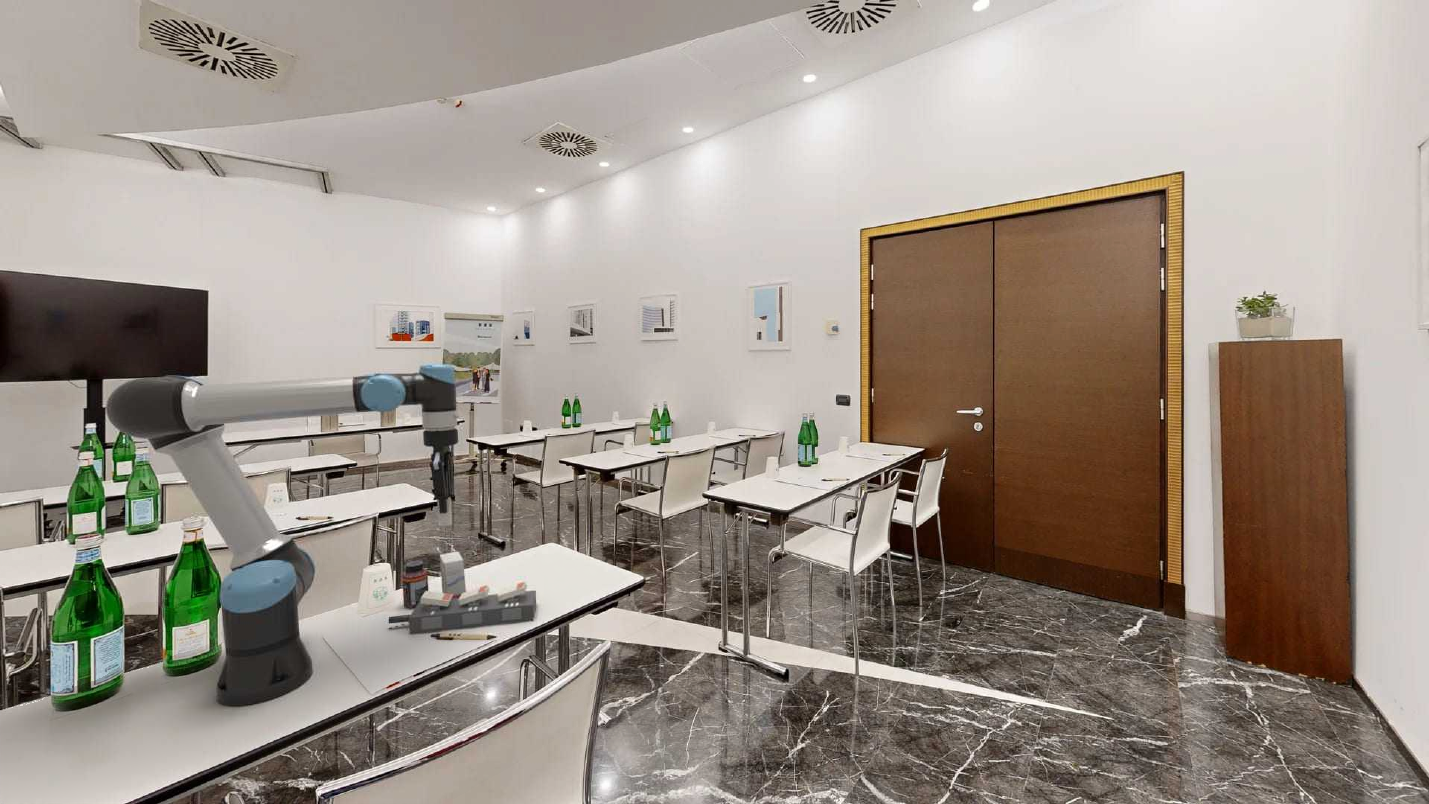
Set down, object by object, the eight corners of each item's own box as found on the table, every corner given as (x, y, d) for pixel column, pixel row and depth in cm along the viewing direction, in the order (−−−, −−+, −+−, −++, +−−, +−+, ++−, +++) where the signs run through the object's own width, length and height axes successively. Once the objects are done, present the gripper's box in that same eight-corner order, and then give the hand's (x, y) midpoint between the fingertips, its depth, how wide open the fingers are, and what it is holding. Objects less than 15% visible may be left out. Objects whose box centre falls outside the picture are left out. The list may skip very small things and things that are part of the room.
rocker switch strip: (383, 637, 133) (382, 616, 133) (395, 619, 142) (394, 600, 142) (533, 620, 140) (532, 601, 140) (536, 605, 149) (535, 586, 149)
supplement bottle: (401, 604, 151) (398, 562, 150) (425, 597, 155) (423, 557, 154) (407, 611, 147) (404, 568, 146) (432, 604, 150) (429, 563, 150)
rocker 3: (499, 602, 141) (497, 595, 141) (502, 596, 145) (499, 589, 145) (525, 594, 142) (523, 587, 142) (527, 587, 146) (525, 580, 146)
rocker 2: (460, 607, 139) (458, 599, 139) (464, 599, 143) (461, 592, 143) (487, 598, 140) (485, 590, 140) (490, 591, 144) (487, 584, 144)
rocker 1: (419, 604, 137) (421, 597, 137) (424, 597, 141) (425, 590, 141) (447, 608, 138) (449, 600, 138) (451, 601, 142) (453, 593, 142)
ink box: (467, 602, 151) (465, 559, 151) (446, 607, 149) (444, 563, 148) (461, 591, 159) (459, 550, 158) (441, 596, 156) (439, 554, 155)
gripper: (451, 431, 131) (456, 531, 133) (462, 424, 144) (467, 516, 146) (415, 432, 130) (421, 534, 131) (430, 426, 142) (435, 518, 144)
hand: (445, 524), depth 139 cm, fingers closed
